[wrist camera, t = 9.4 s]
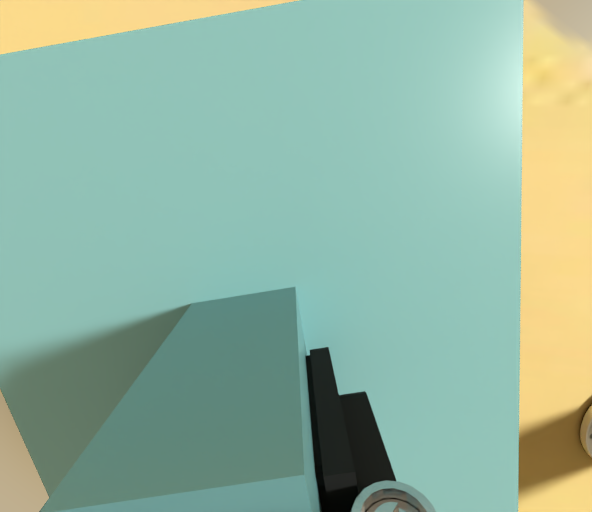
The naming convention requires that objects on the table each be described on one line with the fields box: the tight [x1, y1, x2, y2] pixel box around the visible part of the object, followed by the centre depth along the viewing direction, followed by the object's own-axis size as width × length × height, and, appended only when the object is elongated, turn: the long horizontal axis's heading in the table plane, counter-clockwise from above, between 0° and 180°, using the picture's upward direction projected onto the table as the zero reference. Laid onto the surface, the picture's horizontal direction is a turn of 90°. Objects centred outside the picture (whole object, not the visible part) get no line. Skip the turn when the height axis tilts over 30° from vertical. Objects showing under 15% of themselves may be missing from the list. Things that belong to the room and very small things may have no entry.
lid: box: [0, 0, 523, 512], centre depth 9 cm, size 16×20×8 cm
